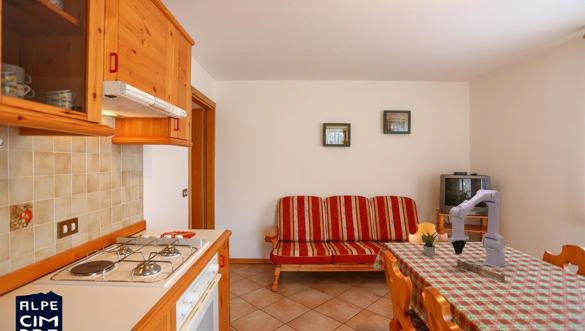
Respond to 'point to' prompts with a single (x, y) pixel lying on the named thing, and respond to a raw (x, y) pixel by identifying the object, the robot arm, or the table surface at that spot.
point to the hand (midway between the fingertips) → (458, 253)
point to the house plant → (429, 244)
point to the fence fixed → (491, 274)
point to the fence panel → (467, 266)
